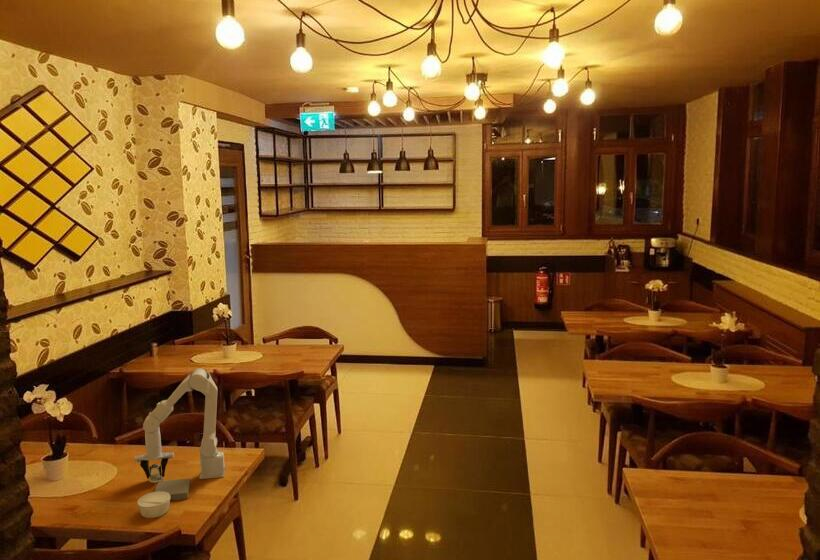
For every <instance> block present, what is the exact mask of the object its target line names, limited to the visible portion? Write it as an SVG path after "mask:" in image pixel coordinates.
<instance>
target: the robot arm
mask: <svg viewBox="0 0 820 560" xmlns="http://www.w3.org/2000/svg"><path fill="white" fill-rule="evenodd" d="M193 390H195V391H198V392H200V393H202V394H203V395H204V396H205V400H204V415H203V416H204V419H203V435H202V438H201V444H200V447H199V460H200V474H199V477H198V478H199V480H207V479H215V478H224V477H225V470H226V464H225V454H224V451H222V452H221V451H219V450H218V449H217V445H218V438H217V436H216V434H217V433H216V426H217V407H218V406H217V405H218V386H217V385H216V383H215V381H214V380H213V378H212V376H211V373H210V372H208V371H207V370H206V369H204V368H203V367H202V368H201V367H198V368H195V369H193V371H192V372H191V373H190V374H188V375H187V376H186V377H185V378H184V379H183V380H182V381H181V382H180V384H179V385H178V386H177V387H176V389H175V390H174V391H173V392H172V393H171V395H170V396H169V397H168V398H167V399H164V400H161V401H160V402H158V403H156V407H155V408H154V409H153V410H152V411H150V412H149V413H148V415H147V416H146V418H145V419H144V422H143V423H142V428H143V431H144V439H145V441H144V442H145V450H146V451H145V452H146V453H144V454H141V455H136V456H134V463H140V464H139V466H140V467H141V469H142V470H143V472H144V474H145V476H146V479H147V480H149V479H150V470H149V467H150V461H157V460H160V464H161V472H162V477H163V478H164V477H165V474H166V473H165V472H166V467H167V464H168V462H169V460H174V458H175V454H174V452H166V451H165V452H164V451H163V450H162V449H163V448H162V441H161V440H162V438H161V431H160V425H161V423H163V422H164V421H165V420H166V419H167V417H169V416H170V414H171V413H172V412H173V411H174V405H175V404H176V403H177V402H178V401H179V399H181V398H182V396H183V395H185V393H187V392H193ZM162 451H163V452H162Z"/></svg>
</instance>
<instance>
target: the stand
mask: <svg viewBox="0 0 820 560" xmlns="http://www.w3.org/2000/svg"><path fill="white" fill-rule="evenodd" d="M191 484H192V482H191V478H190V477H189V478H180V479H172V480H162V481H160V482H158V483H156V487H155V490H154V492H158V491H162V492H167V493H169V494H170V502H171V501H179V500H180V499H181V500H187V499H189V498H188V497H189V494H190V490H189V489H191ZM188 493H189V494H188Z"/></svg>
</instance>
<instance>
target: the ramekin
mask: <svg viewBox="0 0 820 560" xmlns="http://www.w3.org/2000/svg"><path fill="white" fill-rule="evenodd" d="M136 503H137V507H138V510H139V513H140V515H141V516H142V518H147V519H155V518H160V517H162V516H164V515H165V514H166V513H168V511H169V509H170V503H171V501H170V494H169V493H167V492H162V491H158V492H155V491H153V492H148V493H146V494H144V495H142V496H141V497H140V498H138V500H137V502H136Z"/></svg>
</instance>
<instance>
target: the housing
mask: <svg viewBox="0 0 820 560" xmlns="http://www.w3.org/2000/svg"><path fill="white" fill-rule="evenodd" d="M149 472H150V477H149V479H148V481H149V483H151V484H158V483H157V482H160V481H164V477H162V467H161V463H153V464H150V465H149Z"/></svg>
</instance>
